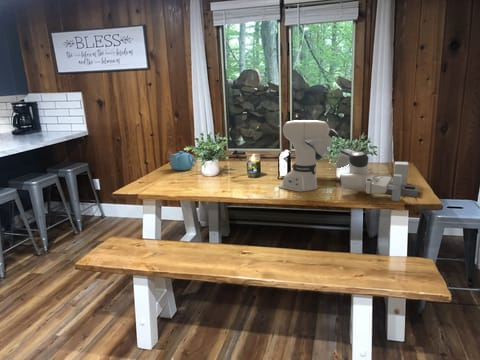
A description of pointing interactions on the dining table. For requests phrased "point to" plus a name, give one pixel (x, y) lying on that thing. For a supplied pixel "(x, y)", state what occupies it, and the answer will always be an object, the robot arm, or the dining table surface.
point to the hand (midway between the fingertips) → (398, 185)
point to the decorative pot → (181, 161)
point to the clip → (397, 192)
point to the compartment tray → (407, 190)
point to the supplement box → (402, 171)
